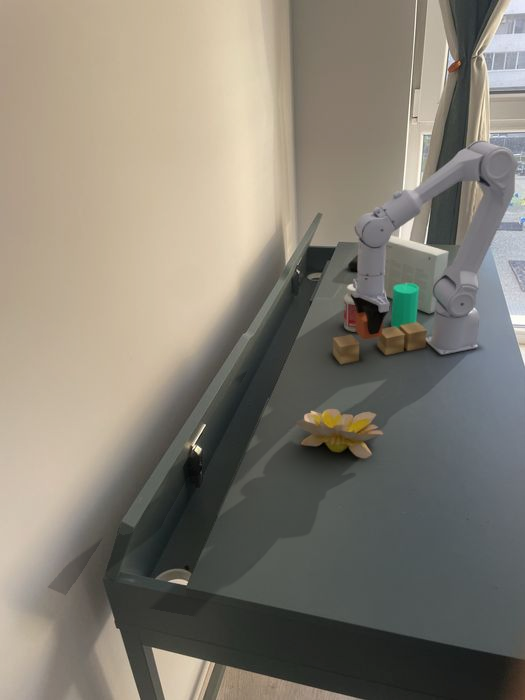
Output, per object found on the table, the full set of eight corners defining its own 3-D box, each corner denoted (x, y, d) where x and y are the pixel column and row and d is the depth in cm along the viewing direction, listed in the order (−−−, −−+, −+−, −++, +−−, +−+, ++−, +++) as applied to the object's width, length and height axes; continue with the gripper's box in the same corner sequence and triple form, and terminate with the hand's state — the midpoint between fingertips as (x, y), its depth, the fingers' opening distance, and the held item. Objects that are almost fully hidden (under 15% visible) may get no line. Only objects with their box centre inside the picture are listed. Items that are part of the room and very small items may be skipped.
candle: (416, 322, 133) (420, 277, 127) (414, 333, 129) (418, 287, 123) (392, 319, 135) (395, 276, 129) (389, 330, 130) (392, 285, 125)
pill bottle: (373, 327, 132) (375, 287, 127) (355, 335, 130) (355, 294, 124) (356, 319, 137) (357, 279, 132) (338, 326, 134) (338, 286, 129)
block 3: (415, 338, 126) (417, 321, 124) (425, 347, 122) (426, 330, 120) (398, 342, 125) (399, 325, 123) (407, 350, 122) (408, 333, 119)
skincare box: (443, 308, 139) (450, 250, 131) (429, 315, 136) (435, 256, 128) (385, 285, 154) (387, 232, 146) (371, 291, 152) (373, 237, 144)
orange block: (373, 327, 122) (374, 310, 119) (382, 336, 118) (383, 318, 115) (355, 331, 121) (355, 313, 118) (363, 339, 117) (363, 321, 115)
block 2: (394, 342, 125) (395, 326, 123) (403, 351, 121) (404, 334, 119) (377, 346, 124) (377, 329, 122) (385, 355, 121) (386, 338, 118)
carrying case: (401, 264, 168) (357, 259, 174) (402, 255, 166) (357, 251, 173) (392, 276, 160) (346, 271, 166) (393, 267, 158) (346, 262, 164)
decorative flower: (395, 422, 96) (390, 384, 90) (380, 473, 89) (374, 436, 83) (317, 411, 103) (308, 375, 96) (298, 457, 96) (287, 421, 89)
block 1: (351, 351, 123) (351, 334, 121) (359, 360, 119) (359, 343, 117) (333, 354, 122) (333, 337, 120) (340, 364, 119) (340, 346, 116)
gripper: (340, 263, 117) (340, 317, 124) (367, 286, 105) (365, 346, 112) (370, 258, 119) (368, 312, 125) (400, 281, 106) (396, 340, 113)
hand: (369, 328), depth 119 cm, fingers closed on orange block, 4 cm apart
